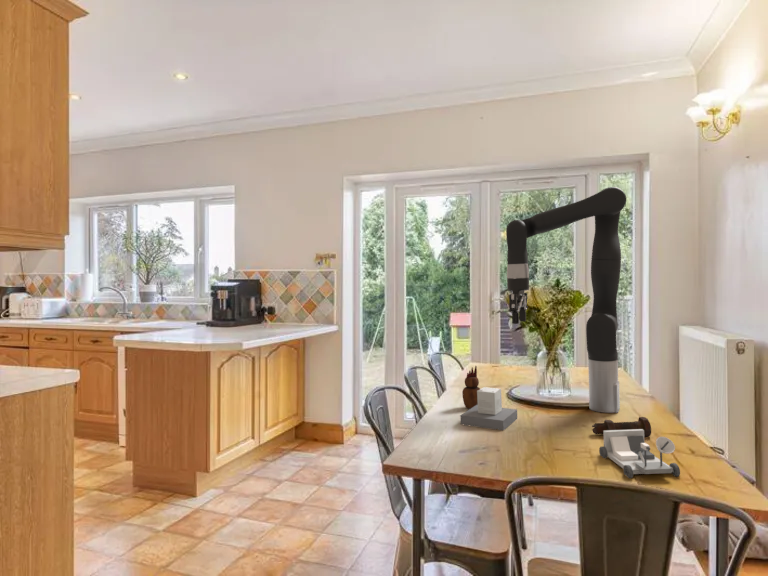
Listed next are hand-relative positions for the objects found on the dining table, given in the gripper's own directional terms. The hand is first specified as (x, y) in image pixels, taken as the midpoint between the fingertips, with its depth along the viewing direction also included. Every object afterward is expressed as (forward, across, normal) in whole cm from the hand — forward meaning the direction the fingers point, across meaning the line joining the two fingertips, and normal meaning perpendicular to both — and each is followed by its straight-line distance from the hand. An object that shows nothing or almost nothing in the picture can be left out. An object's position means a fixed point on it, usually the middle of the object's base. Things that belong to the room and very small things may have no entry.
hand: (519, 322), depth 173 cm
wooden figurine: (+30, +9, -15) cm, 35 cm away
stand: (+30, +22, -4) cm, 38 cm away
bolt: (+30, +18, +34) cm, 49 cm away
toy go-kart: (+31, +42, +41) cm, 66 cm away
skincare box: (+27, +22, -4) cm, 35 cm away
